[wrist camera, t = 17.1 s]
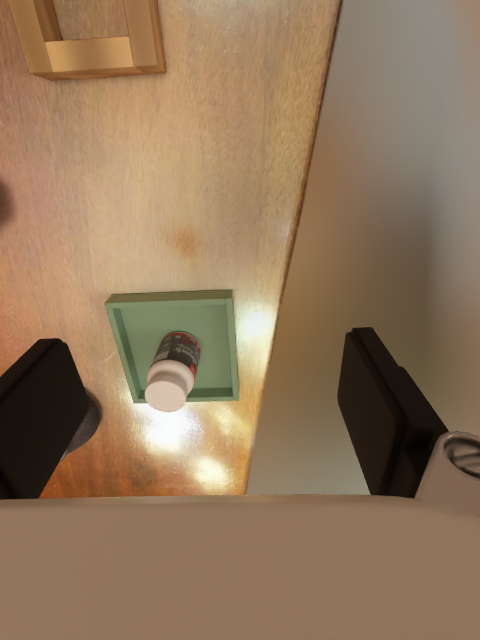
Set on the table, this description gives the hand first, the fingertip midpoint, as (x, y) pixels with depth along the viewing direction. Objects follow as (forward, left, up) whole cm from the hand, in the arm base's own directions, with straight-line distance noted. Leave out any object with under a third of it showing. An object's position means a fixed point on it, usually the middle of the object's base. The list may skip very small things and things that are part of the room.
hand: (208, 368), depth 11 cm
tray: (+9, +18, -28) cm, 35 cm away
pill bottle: (+8, +18, -28) cm, 34 cm away
